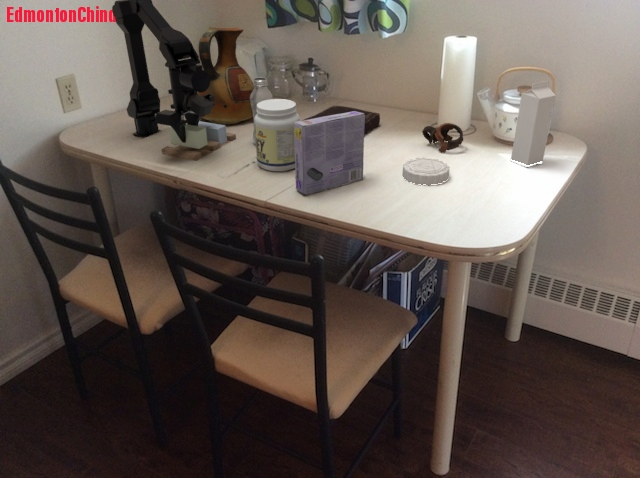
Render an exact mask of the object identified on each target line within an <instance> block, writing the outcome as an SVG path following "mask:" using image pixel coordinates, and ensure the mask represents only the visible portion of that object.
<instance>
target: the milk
mask: <svg viewBox="0 0 640 478" xmlns="http://www.w3.org/2000/svg"><path fill="white" fill-rule="evenodd" d="M555 100H556V94H555V93H554V92H553V91H552V89H551V88H550V87H549V80H544V81H539V82H533V83H532V84H531V89H529V90H526V91H523V92H521V96H520V102H519V107H518V115H517V119H516V126H515V130H514V131H515V133H514V137H513V138H514V139H513V144H512V145H513V146H512V151H511V157H510V160H511V159H512V160H515V161H518V162H521V163H524V164H526V165H530V164H534V163H537V162H540V161H543V162H544V156H545V152H546V147H547V142H548V137H549V131H550V126H551V123H552V115H553V111H554V105H555Z"/></svg>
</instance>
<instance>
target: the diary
mask: <svg viewBox="0 0 640 478" xmlns="http://www.w3.org/2000/svg"><path fill="white" fill-rule="evenodd" d="M352 111H357V112H360V113H364V115H365V125H364V135H366V134H367V133H369V132H370V131H372V130H374V129H376V128H377V127H379V126H380V124H381V123H380V122H381V115H380V113H379V112H373V111H370V110H369V111H368V110H362V109H359V108H356V107H355V108H354V107H348V106H345V105H343V106H342V105H332V106H330V107H328V108H326V109H324V110H322V111H320V112H318V113H316V114H313V115H312V116H308V117H306V118H304V119H302V120H301V121H303V120H309V119H314V118H319V117H324V116H330V115H336V114H341V113H347V112H352ZM378 125H379V126H378ZM376 126H377V127H376ZM373 128H374V129H373Z"/></svg>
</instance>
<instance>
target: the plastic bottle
mask: <svg viewBox="0 0 640 478" xmlns="http://www.w3.org/2000/svg"><path fill="white" fill-rule="evenodd" d="M253 84H254V87H255V88H254V89H253V91H252V93H251V94H250V103H251V107H252V112H253V117H252V119H253V120H254V118H255V116H256V114H257V104H258V103H259V102H261V101H264V100H270V99H274V97H273V94H272V92H271V91H270V90H269V88H268V87H267V86H268V79H267V77H255V78H253ZM252 141H253V144H254V145H255V146H256V138H255V124H254V123H253V134H252Z"/></svg>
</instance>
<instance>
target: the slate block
mask: <svg viewBox="0 0 640 478" xmlns="http://www.w3.org/2000/svg"><path fill="white" fill-rule="evenodd" d="M226 125H227V124H217V123H212V122H206V121H201V120H199V123H198V126H200V127H205V128H206V134H207V140H210V141H215V142H220V145H222V144H224V143H226V142H227V134H226V132H227V126H226Z"/></svg>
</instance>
